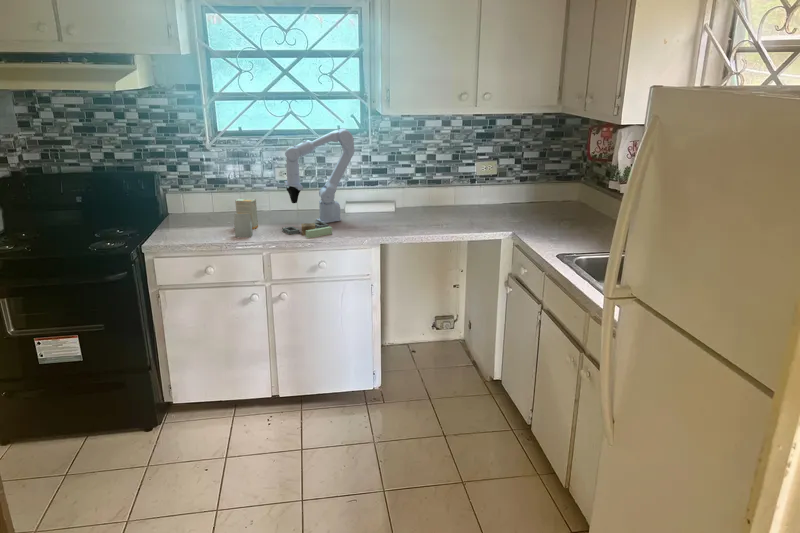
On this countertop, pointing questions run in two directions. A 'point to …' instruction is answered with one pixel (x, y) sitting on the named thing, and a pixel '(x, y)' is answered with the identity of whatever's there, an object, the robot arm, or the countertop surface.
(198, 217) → the countertop surface
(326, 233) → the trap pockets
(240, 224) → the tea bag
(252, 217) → the supplement box
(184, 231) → the countertop surface
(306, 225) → the tan block
